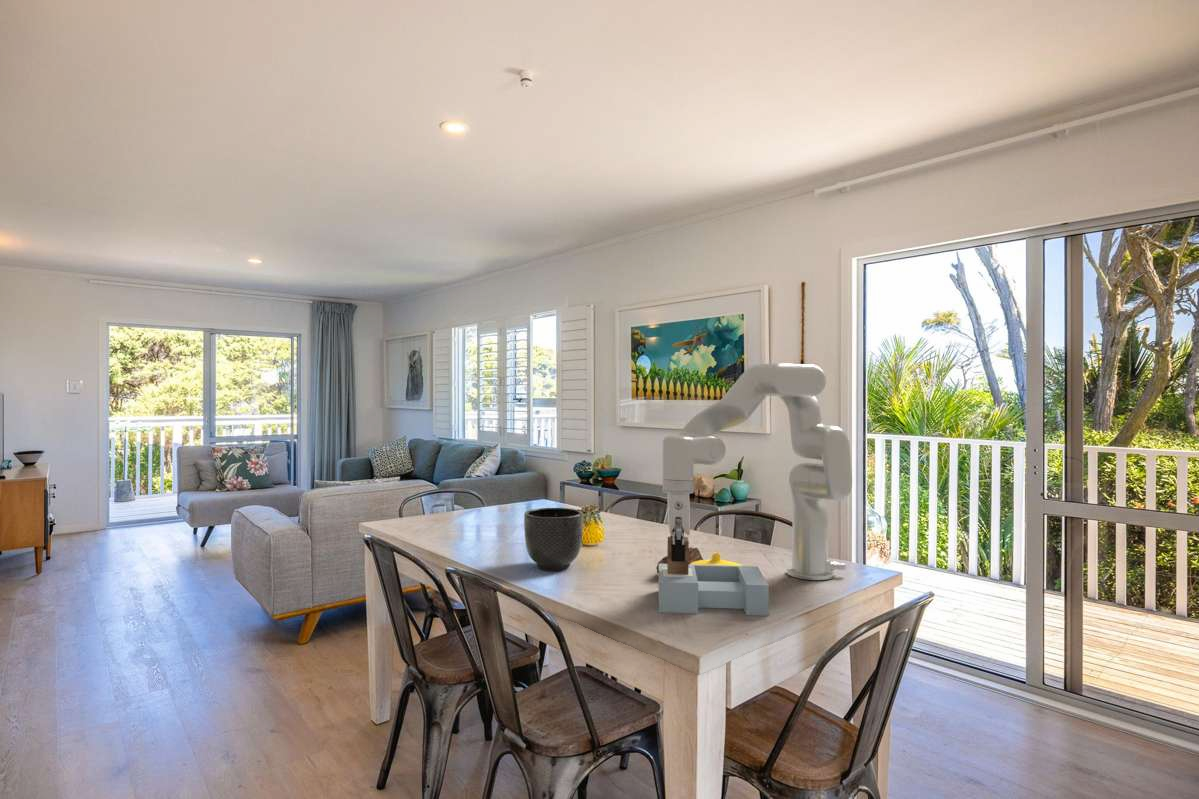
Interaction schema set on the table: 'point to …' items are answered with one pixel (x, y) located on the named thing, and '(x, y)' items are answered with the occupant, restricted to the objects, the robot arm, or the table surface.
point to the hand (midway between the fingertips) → (677, 556)
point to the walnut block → (676, 566)
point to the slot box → (714, 589)
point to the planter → (553, 536)
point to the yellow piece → (715, 561)
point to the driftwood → (693, 556)
